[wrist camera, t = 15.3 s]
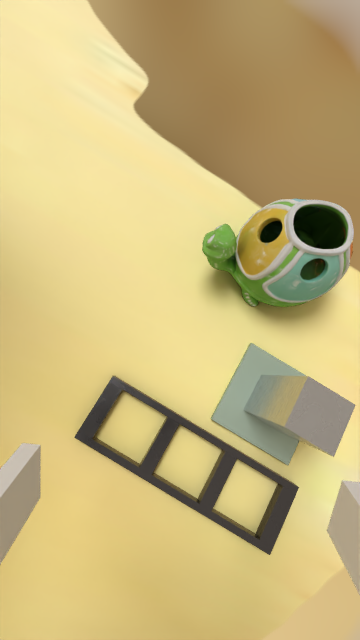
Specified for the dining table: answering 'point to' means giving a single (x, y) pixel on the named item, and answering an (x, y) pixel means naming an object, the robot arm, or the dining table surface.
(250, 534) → the dark brown flat frame
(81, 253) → the dining table surface
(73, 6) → the dining table surface
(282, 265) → the turtle holder
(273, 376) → the gray rectangular brick
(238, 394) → the mat
